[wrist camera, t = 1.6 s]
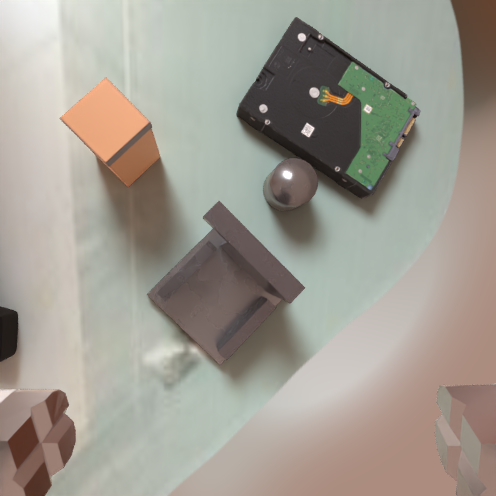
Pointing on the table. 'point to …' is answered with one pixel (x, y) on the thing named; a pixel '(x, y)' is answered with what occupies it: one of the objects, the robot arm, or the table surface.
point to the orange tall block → (114, 131)
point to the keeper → (224, 286)
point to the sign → (8, 332)
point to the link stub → (290, 184)
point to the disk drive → (329, 109)
